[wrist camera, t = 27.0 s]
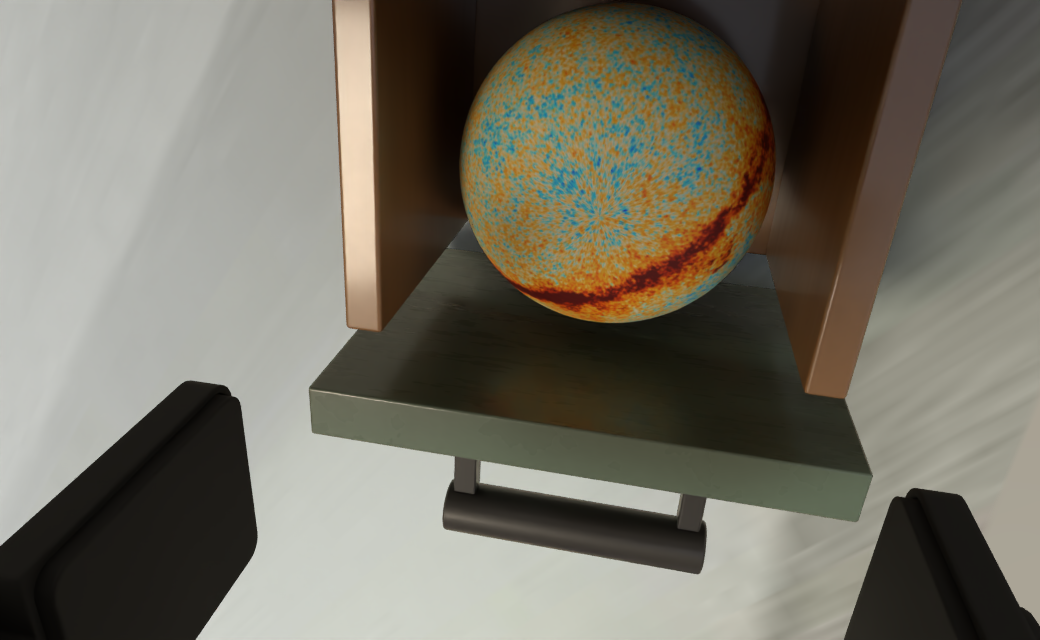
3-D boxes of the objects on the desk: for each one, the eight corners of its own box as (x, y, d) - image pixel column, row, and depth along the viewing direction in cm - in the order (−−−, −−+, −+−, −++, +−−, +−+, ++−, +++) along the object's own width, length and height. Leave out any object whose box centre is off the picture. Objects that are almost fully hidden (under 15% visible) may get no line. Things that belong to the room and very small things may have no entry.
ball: (462, 39, 20) (367, 80, 14) (733, -45, 18) (760, -40, 12) (535, 279, 23) (482, 402, 17) (779, 228, 21) (821, 347, 15)
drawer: (765, 460, 25) (803, 690, 18) (426, 407, 27) (322, 596, 19) (945, -267, 17) (1180, -455, 9) (432, -281, 18) (245, -452, 11)
